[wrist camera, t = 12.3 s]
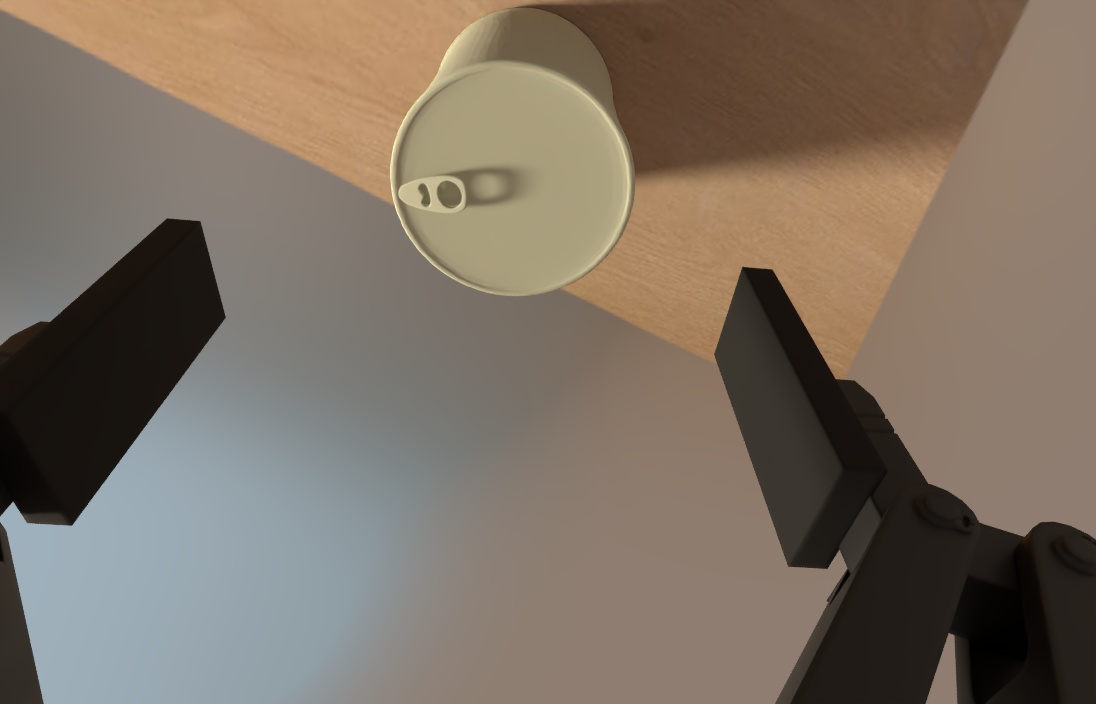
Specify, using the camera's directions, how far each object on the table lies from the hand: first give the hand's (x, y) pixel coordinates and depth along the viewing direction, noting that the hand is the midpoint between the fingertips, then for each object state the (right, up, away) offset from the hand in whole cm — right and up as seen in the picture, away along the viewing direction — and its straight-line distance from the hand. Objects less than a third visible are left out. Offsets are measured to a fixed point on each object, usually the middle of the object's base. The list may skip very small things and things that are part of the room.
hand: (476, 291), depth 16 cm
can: (+1, +11, +17) cm, 20 cm away
